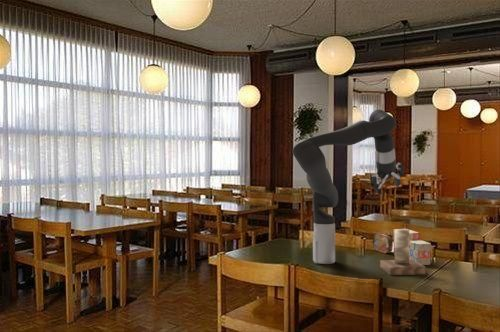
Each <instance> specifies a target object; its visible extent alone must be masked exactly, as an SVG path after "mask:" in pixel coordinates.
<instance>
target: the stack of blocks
mask: <svg viewBox="0 0 500 332" xmlns="http://www.w3.org/2000/svg"><path fill="white" fill-rule="evenodd" d="M395 229H396V228H395ZM395 229H394V228H393V231H392V232H393V233H392V234H393V236H392V237H393V255H394V256H395ZM405 229H406V230H409V260H415V261H417V262H418V263H420V264H422V265H423V266H429V265H431V255H432V254H431V253H432V252H431V250H432V249H431V248H432V244H431V242H428V241H424V240H422V239H420V232H418V231H415V230H412V229H408V228H405Z"/></svg>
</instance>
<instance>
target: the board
mask: <svg viewBox="0 0 500 332" xmlns="http://www.w3.org/2000/svg"><path fill="white" fill-rule="evenodd" d="M379 263H380V265H379V267H380V269H381V270H382V271H384V272H385V273H386V274H388V275H389V276H407V275H426V265H422V264H420V263H418V262H417V261H415V260H409V265H398V264H395V259H388V260H387V259H385V260H383V259H382V260H381V259H380V260H379Z"/></svg>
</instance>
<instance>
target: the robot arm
mask: <svg viewBox="0 0 500 332" xmlns="http://www.w3.org/2000/svg"><path fill="white" fill-rule="evenodd" d="M396 126H397V120H396V117H394V116H393V115H391V114H389V113H387V112H386V111H384V110H382V109H375V110H373V111H372V112H371V113H370V115H369V118H368V121H367V120H359V121H357V122H355V123H353V124H350V125H348V126H346V127H344V128H343V127H342V128H340V129H338V130H333V131H331V132H330V131H329V132H325V133H323V134H322V133H321V134H317V135H315V136H311V137H307V138H305V139H303V140H301V141H298V142H297V143H296V144H295V145H294V146H293V148H292V154H293V157H294V158H295V160H296V161H297V163H298V165H299V166H300V168H301V170H303V171H304V173H305V174H306V181H307V183H308V185H309V187H310V188H311V190H312V207H313V208H312V209H313V239H312V261H313V262H314V263H315V264H320V265H321V264H322V265H330V264H334V263H335V262H336V223H335V222H336V218H335V216H334V215H332V214H329V213H327V212H325V211H324V210H323V209H322V208H328V209H329V208H335V207H336V206H337V205H338V204H339V203H338V202H339V192H338V189H337V188H336V186H335V184H334V182H333V180H332V176H331V174H330V172H329V169H328V167H327V163H326V162H327V161H326V157H325V154H324V152H323V151H322V150H321V147H323V146H324V147H325V146H352V145H356V144H358V143H360V142H362V141H365V140H367V139H370V138H373V140H374V148H375V149H374V154H375V155H374V156H375V166H376V167H375V168H376V170H377V172H376V174H370V175H369V176H370V177H369V178H370V187H372V188H373V189H374V190H375V193H376V194H377V195H379V196H382V195H383V194H382V186H383V185H384V184H385V182H386V181H387V180H390V179H392V178H393V181H394V182H393V183H394V185H395V186H396V187H397V188H398V187H399V186H400V184H401V180H400V179H401V177H404V175H405V171H404V165H403V164H402V163H400V162H399V161H397V160H396V150H395V144H394V136H393V135H392V132H393V131H394V130H395V128H396ZM396 170H397V171H396ZM396 172H397V173H396ZM395 186H394V187H395Z"/></svg>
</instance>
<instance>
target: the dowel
mask: <svg viewBox="0 0 500 332" xmlns="http://www.w3.org/2000/svg"><path fill="white" fill-rule="evenodd" d="M406 229H407V228H395V255H394V260H395V264H398V265H409V230H410V229H408V230H406Z"/></svg>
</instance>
